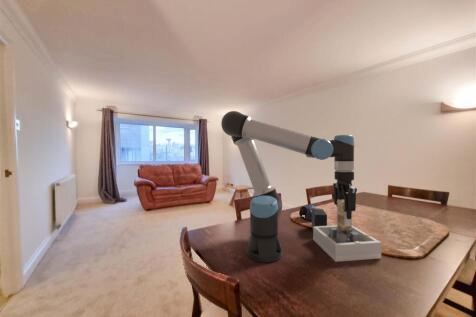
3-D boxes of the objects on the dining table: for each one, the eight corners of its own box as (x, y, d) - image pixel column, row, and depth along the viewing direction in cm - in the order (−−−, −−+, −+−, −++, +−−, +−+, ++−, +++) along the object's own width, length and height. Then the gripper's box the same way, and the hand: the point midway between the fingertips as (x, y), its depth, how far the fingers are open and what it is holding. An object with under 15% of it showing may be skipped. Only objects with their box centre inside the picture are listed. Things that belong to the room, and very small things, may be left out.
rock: (295, 212, 130) (303, 199, 128) (307, 218, 133) (315, 205, 131) (303, 222, 119) (312, 208, 118) (316, 227, 122) (325, 214, 121)
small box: (327, 235, 102) (327, 214, 101) (314, 234, 103) (314, 214, 103) (323, 227, 112) (323, 208, 112) (311, 226, 114) (311, 208, 113)
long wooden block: (341, 237, 85) (341, 202, 84) (334, 231, 91) (333, 198, 90) (355, 236, 85) (355, 201, 85) (346, 230, 91) (346, 198, 91)
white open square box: (335, 261, 78) (335, 244, 78) (313, 239, 97) (313, 225, 97) (381, 258, 80) (381, 241, 79) (350, 237, 99) (350, 223, 98)
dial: (340, 253, 80) (340, 239, 80) (322, 237, 94) (322, 225, 94) (370, 250, 81) (370, 237, 81) (348, 235, 95) (348, 224, 95)
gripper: (366, 172, 79) (366, 231, 80) (340, 168, 96) (340, 216, 97) (348, 173, 78) (348, 232, 79) (325, 169, 95) (325, 217, 96)
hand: (344, 223), depth 88 cm, fingers closed on long wooden block, 4 cm apart
